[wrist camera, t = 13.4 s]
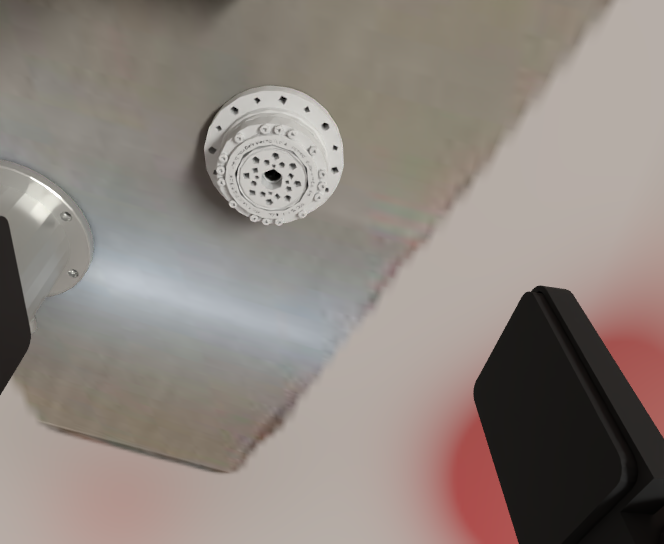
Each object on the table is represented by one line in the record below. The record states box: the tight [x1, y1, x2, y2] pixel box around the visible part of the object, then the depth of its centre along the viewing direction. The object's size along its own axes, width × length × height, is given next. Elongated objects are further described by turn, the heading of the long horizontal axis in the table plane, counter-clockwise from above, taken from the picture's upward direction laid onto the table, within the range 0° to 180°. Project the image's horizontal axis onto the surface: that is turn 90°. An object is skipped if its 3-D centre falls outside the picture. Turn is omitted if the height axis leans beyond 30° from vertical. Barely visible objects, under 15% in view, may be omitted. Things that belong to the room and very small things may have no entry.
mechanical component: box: [204, 85, 344, 226], centre depth 36 cm, size 10×4×10 cm
